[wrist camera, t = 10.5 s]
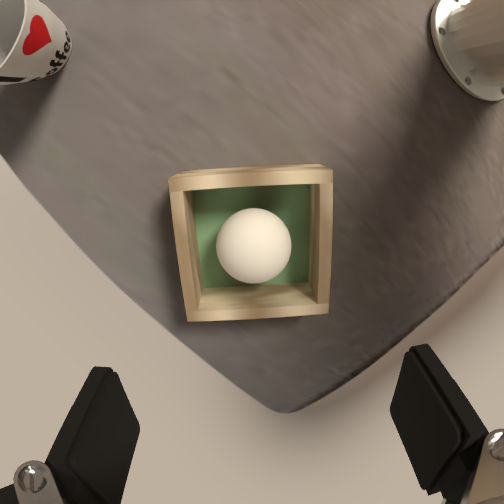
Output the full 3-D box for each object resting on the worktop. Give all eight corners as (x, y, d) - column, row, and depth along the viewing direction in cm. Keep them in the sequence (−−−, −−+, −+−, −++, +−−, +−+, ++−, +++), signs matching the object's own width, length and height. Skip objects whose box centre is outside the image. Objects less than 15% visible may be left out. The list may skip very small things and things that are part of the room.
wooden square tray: (319, 164, 27) (332, 169, 23) (317, 289, 31) (328, 313, 27) (179, 171, 27) (168, 178, 23) (194, 296, 31) (187, 321, 27)
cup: (47, 106, 24) (-21, 105, 15) (9, 65, 22) (-55, 57, 12) (100, 40, 22) (44, 9, 13) (57, 3, 20) (1, -26, 11)
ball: (286, 199, 28) (296, 217, 22) (287, 263, 30) (296, 294, 24) (216, 203, 28) (208, 221, 22) (222, 267, 30) (216, 298, 24)
